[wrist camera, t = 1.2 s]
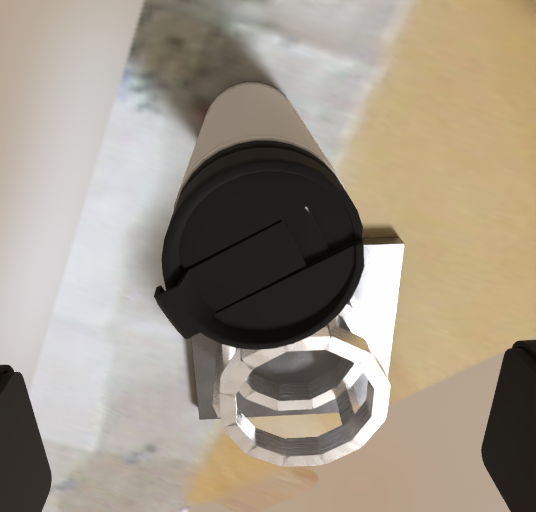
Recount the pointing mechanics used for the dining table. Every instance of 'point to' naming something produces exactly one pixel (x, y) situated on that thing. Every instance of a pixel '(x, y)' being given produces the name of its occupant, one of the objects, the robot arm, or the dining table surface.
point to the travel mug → (259, 229)
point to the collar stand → (310, 373)
